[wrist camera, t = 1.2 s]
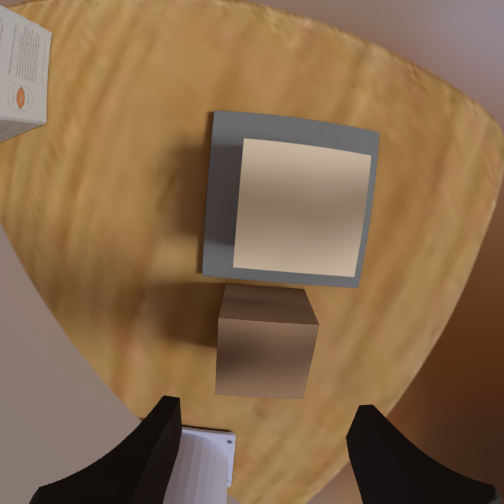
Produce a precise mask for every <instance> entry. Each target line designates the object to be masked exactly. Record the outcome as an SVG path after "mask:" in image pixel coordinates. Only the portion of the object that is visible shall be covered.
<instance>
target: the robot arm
mask: <svg viewBox="0 0 504 504" xmlns="http://www.w3.org/2000/svg"><path fill="white" fill-rule="evenodd" d="M235 439H236V436H235V434H234V433H232V432H223V431H213V430H204V429H196V428H188V427H182V423H181V410H180V398H178V397H171V396H163V397H162V398H161V399H160V401H159V402H158V403H157V405H156V406H155V407H154V408H153V410H152V411H151V412H150V413H149V414H148V415H147V417H146V418H145V419H144V420H143V421H142V422H141V423H140V424H139V425H138V427H137V428H136V429H135V430H134V431H133V432H132V433H131V434H130V435H128V436H127V437H126V438H125V439H124V440H123V441H122V442H121V443H120V444H119V445H117V446H116V447H115V448H114V449H113V450H111V451H110V452H109V453H107V454H106V455H105V456H103V457H102V458H100V459H99V460H97V461H96V462H94V463H93V464H91V465H90V466H88V467H86V468H84V469H82V470H80V471H79V472H76V473H74V474H72V475H70V476H68V477H66V478H64V479H61V480H59V481H56V482H54V483H51V484H48V485H45V486H42V487H39V488H38V490H37V491H36V492H35V494H34V495H33V497H32V499H31V501H30V503H29V504H226V497H227V487H230V486H231V480H232V470H233V459H234V449H235ZM229 440H231V441H229ZM346 440H347V447H348V453H349V458H350V461H351V465H352V468H353V471H354V474H355V478H356V481H357V484H358V487H359V491H360V494H361V497H362V502H363V504H499V503H500V502H501V497H500V495H499V493H498V492H497V490H496V488H495V486H493V485H490V484H486V483H483V482H479V481H476V480H473V479H470V478H468V477H465V476H463V475H461V474H459V473H456V472H454V471H452V470H450V469H448V468H447V467H445V466H443V465H441V464H440V463H438V462H437V461H435V460H434V459H432V458H431V457H429V456H428V455H426V454H425V453H424V452H422V451H421V450H420V449H418V448H417V447H416V446H415V445H414V444H413V443H411V442H410V441H409V440H408V439H407V438H406V437H405V436H404V435H403V434H401V433H400V432H399V431H398V430H397V429H396V428H395V427H394V426H393V425H392V424H391V423H390V422H389V421H388V420H387V419H386V418H385V417H384V416H383V415H382V414H381V413H380V411H379V410H378V409H377V408H376V407H375V406H374V405H359V407H358V410H357V412H356V415H355V417H354V420H353V422H352V424H351V427H350V429H349V431H348V434H347V436H346Z"/></svg>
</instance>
